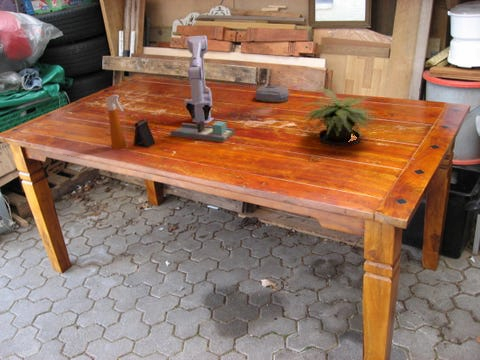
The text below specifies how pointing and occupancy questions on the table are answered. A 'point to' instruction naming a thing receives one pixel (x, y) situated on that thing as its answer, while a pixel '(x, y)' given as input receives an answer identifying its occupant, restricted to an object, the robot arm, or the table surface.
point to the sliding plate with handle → (210, 130)
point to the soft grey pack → (272, 94)
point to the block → (219, 128)
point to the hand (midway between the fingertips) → (200, 118)
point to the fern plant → (340, 120)
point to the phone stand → (143, 135)
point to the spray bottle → (115, 123)
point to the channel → (191, 130)
